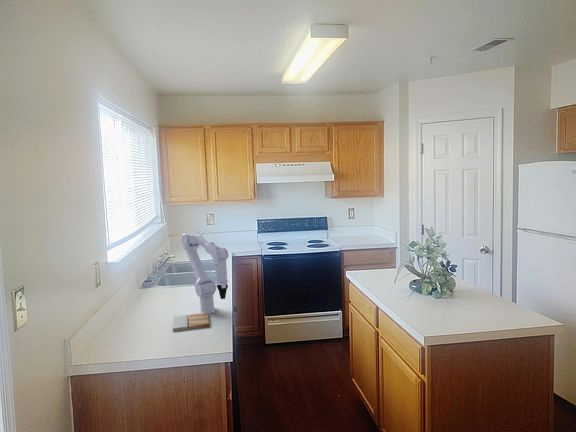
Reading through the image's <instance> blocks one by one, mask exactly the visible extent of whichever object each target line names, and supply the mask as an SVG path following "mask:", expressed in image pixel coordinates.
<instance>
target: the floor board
mask: <svg viewBox="0 0 576 432" xmlns="http://www.w3.org/2000/svg"><path fill="white" fill-rule="evenodd" d="M172 322H173V323H172V324H173V325H172V332H179V331H180V332H181V331H188V330H189V314H186V315H184V314H183V315H175V316H173V321H172Z"/></svg>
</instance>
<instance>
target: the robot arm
mask: <svg viewBox="0 0 576 432" xmlns="http://www.w3.org/2000/svg"><path fill="white" fill-rule="evenodd" d="M180 240H181V244H182V247H183V250H184V251H185V252H186V254H187V257H188V260H189V262H190V264H191V267H192V270H193V272H194V275H195V277H196V281H195V283H194V288H195V289H194V290H195V293H196V295H197V297H199V306H200V308H199V313H206V312H208V315H210V314H214V313H216V309H215V302H214V295H215V293H216V291H217V290H218V293H219V297H220V299H221V300H225V299H226V296H227V291H228V288H229V285H228V282H229V280H228V270H227V269H228V268H227V259H228V257H229V252H228V249H226V248H225V247H220V246H218V245H217V244H215V242H214V241H211V242H210V241H208V240H207V239H206V238H205V237H204V236H203V233H201V232H200V231H193V232H186V233H183V234H181V239H180ZM200 246H201V247H202V248H204V251H205V252H206V253H207V254H209V255H210V256H211V258H212V260H213V264H214V268H215V270H214V271H215V281H213V278H211V277H210V276H207V274H206V272H205V268H204V266H203V264H202V261H201V258H200V256H199V253H198V250H197V249H199V248H200Z"/></svg>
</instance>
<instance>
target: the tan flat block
mask: <svg viewBox="0 0 576 432" xmlns="http://www.w3.org/2000/svg"><path fill="white" fill-rule="evenodd" d="M209 327H210V320H209V314H208V312H206V313H200V312H199V313H192V314H188V330H196V329H201V328H209Z"/></svg>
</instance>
